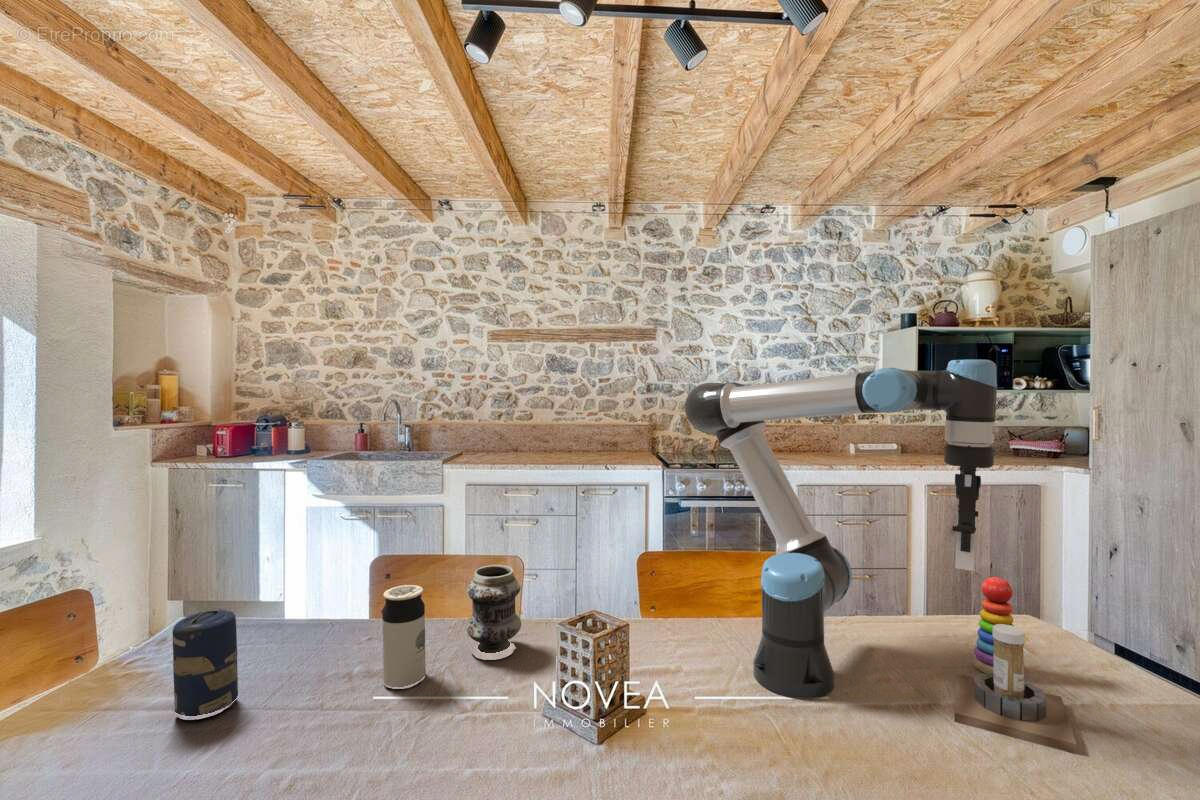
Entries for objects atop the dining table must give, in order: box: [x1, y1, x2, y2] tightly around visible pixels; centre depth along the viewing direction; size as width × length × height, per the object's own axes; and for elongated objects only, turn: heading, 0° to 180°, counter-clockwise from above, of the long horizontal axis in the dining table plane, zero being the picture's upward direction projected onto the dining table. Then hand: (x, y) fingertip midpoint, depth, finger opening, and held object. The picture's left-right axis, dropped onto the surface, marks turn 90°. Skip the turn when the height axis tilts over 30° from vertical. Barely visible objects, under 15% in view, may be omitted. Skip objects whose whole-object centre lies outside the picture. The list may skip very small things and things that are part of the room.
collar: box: [973, 672, 1046, 722], centre depth 97 cm, size 10×10×3 cm
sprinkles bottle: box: [992, 624, 1026, 699], centre depth 97 cm, size 5×5×14 cm
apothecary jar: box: [465, 564, 522, 653], centre depth 122 cm, size 12×12×18 cm
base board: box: [954, 672, 1078, 755], centre depth 97 cm, size 16×16×2 cm
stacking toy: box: [972, 576, 1015, 674], centre depth 111 cm, size 8×8×19 cm
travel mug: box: [381, 584, 427, 687], centre depth 110 cm, size 8×8×18 cm
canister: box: [172, 609, 239, 716], centre depth 100 cm, size 10×10×18 cm
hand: (964, 559), depth 101 cm, fingers open, 13 cm apart
